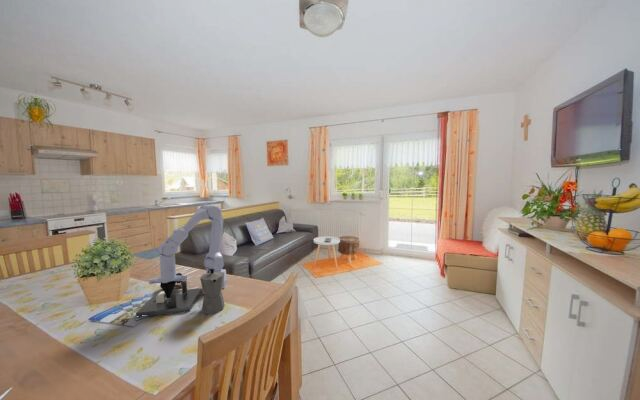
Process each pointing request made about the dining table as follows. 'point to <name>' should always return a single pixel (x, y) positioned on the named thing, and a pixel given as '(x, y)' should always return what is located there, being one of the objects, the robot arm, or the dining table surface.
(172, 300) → the black cylinder
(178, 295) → the panel
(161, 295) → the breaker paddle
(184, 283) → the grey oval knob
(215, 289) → the coffeepot
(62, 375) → the dining table surface
